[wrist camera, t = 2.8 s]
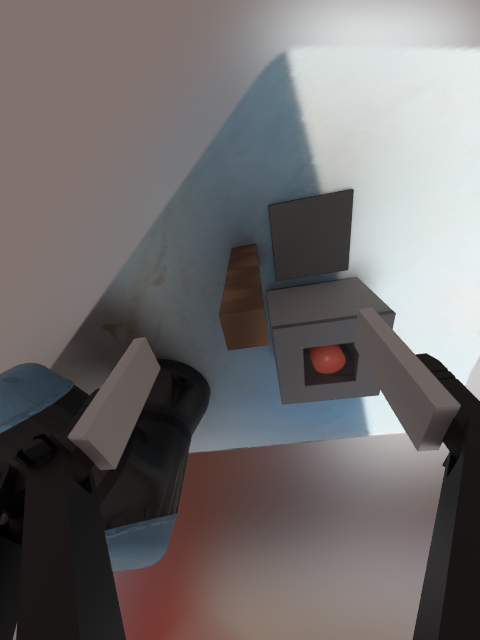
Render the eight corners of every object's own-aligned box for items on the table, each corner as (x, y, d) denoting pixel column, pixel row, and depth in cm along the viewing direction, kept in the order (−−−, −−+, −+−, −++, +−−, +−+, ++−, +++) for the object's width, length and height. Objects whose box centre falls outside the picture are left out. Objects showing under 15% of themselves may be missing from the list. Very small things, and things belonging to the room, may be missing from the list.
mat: (275, 279, 31) (276, 281, 30) (268, 205, 26) (268, 205, 26) (346, 268, 30) (348, 269, 29) (351, 189, 25) (353, 189, 25)
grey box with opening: (274, 357, 38) (282, 404, 30) (266, 291, 32) (272, 329, 24) (350, 348, 37) (378, 395, 29) (357, 277, 30) (395, 313, 23)
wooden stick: (236, 271, 30) (228, 350, 17) (231, 248, 29) (218, 315, 15) (258, 267, 30) (269, 345, 17) (255, 244, 28) (264, 308, 15)
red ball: (305, 351, 32) (313, 375, 28) (305, 330, 30) (313, 352, 26) (332, 348, 31) (344, 371, 28) (333, 326, 30) (346, 348, 26)
